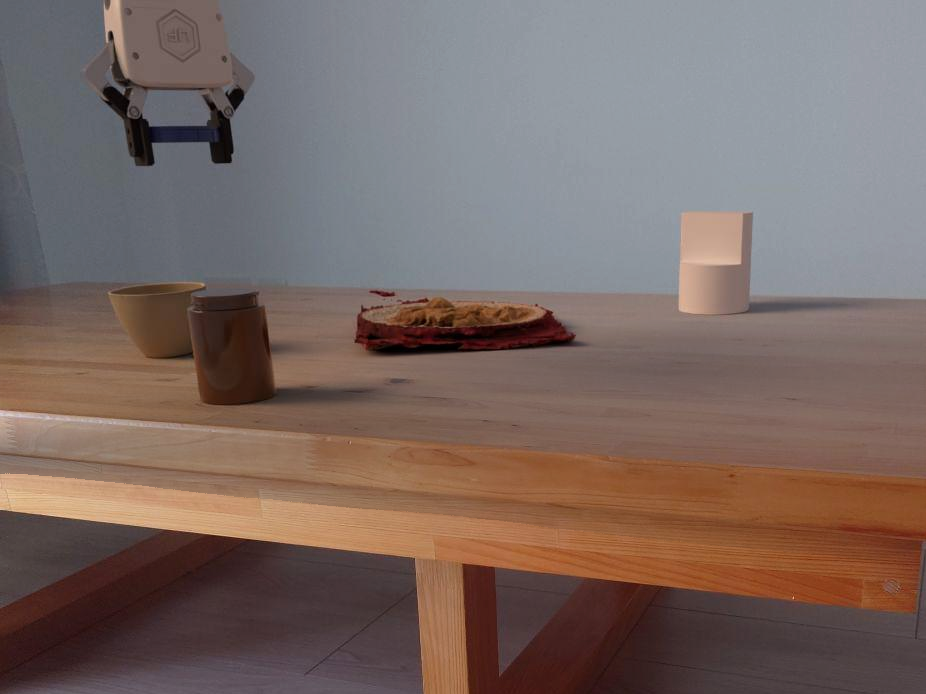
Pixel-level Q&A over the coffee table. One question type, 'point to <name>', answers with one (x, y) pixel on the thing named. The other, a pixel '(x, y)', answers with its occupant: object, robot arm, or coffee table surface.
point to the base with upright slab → (715, 262)
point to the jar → (231, 346)
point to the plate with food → (457, 324)
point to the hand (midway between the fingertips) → (184, 163)
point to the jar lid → (184, 134)
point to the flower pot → (157, 316)
